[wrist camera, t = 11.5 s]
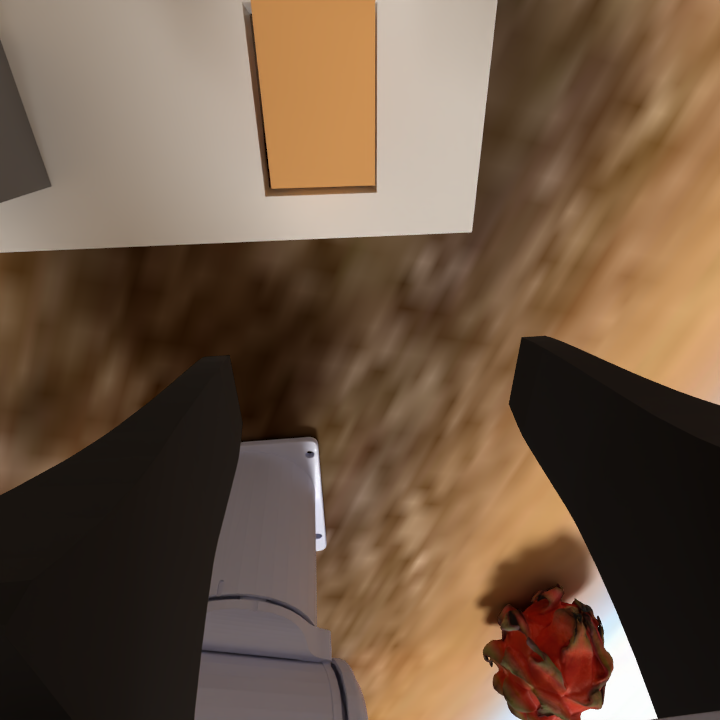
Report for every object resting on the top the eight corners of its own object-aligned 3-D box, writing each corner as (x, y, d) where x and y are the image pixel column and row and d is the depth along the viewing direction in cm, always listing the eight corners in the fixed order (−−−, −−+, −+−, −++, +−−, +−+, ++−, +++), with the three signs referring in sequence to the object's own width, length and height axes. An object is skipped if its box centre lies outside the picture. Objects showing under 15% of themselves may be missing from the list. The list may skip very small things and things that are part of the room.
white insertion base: (457, 220, 20) (510, 262, 14) (-70, 242, 18) (-224, 298, 13) (482, -49, 15) (572, -128, 10) (-222, -54, 13) (-557, -152, 8)
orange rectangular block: (356, 161, 18) (375, 185, 13) (282, 163, 18) (271, 188, 13) (353, 24, 16) (375, -13, 11) (269, 25, 16) (248, -14, 10)
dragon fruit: (482, 632, 41) (528, 531, 37) (578, 691, 37) (640, 587, 33) (457, 715, 33) (512, 600, 29) (574, 797, 30) (654, 680, 26)
